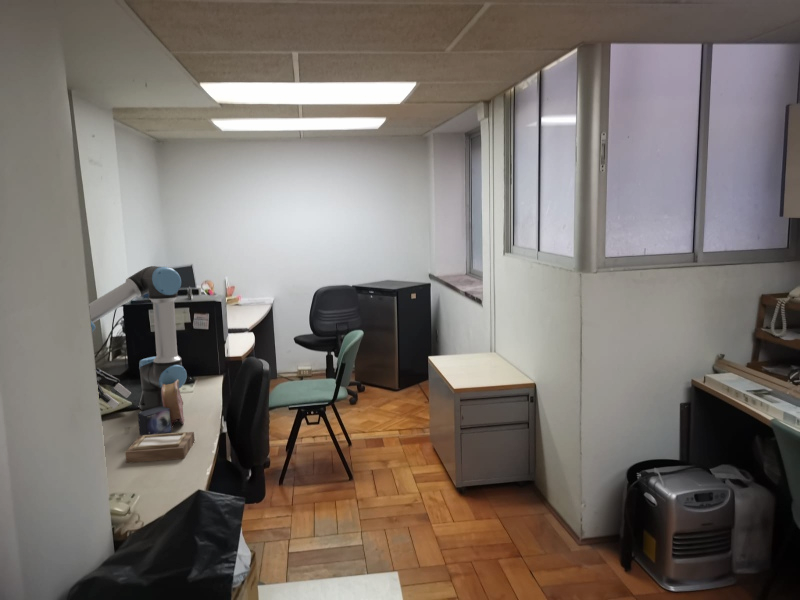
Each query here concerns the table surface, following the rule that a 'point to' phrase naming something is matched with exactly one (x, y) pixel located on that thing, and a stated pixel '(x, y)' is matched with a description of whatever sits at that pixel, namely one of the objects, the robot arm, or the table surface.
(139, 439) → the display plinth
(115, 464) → the table surface
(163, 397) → the face sculpture
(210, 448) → the table surface
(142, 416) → the small box
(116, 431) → the table surface
